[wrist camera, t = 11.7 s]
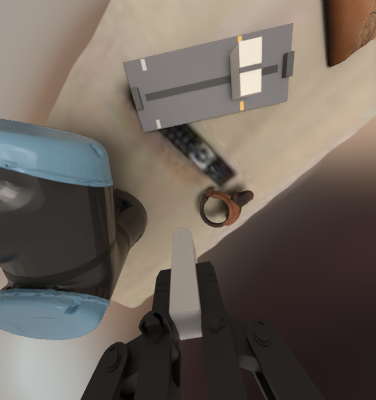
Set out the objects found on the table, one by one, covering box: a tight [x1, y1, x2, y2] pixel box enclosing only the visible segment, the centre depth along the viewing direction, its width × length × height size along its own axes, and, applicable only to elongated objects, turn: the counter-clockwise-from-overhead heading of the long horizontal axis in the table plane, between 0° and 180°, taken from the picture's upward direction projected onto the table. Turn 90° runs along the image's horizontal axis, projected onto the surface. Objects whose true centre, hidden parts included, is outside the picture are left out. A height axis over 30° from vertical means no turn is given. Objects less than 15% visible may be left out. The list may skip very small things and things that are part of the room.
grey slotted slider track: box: [123, 23, 294, 132], centre depth 26 cm, size 26×10×3 cm, turn 101°
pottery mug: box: [200, 187, 254, 228], centre depth 35 cm, size 12×10×8 cm
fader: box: [230, 37, 262, 100], centre depth 23 cm, size 3×6×4 cm, turn 11°
